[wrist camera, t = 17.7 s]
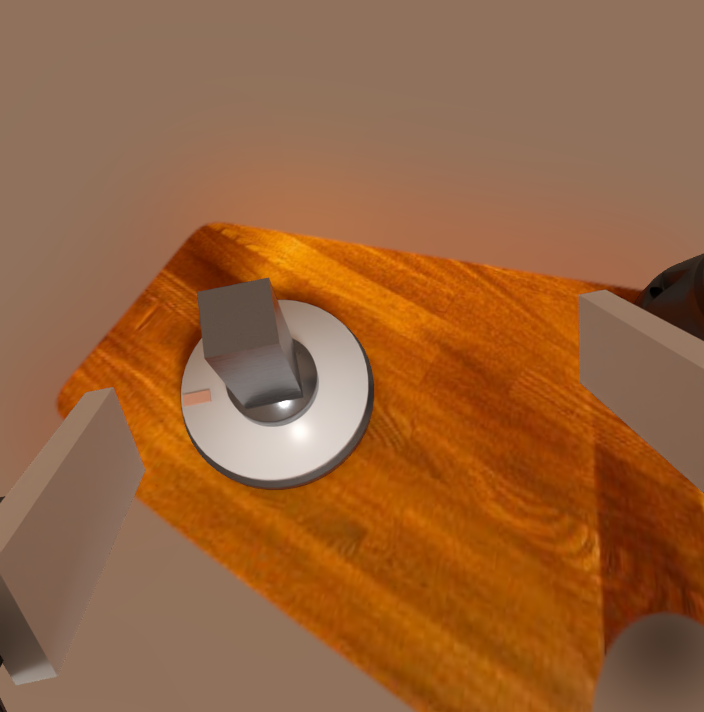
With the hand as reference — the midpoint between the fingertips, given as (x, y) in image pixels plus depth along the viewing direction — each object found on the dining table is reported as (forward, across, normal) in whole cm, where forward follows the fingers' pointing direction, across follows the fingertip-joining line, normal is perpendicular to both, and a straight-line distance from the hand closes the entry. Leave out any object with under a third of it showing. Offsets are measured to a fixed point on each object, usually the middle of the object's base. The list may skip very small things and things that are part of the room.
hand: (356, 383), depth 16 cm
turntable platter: (+33, -6, -15) cm, 37 cm away
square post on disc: (+32, -6, -14) cm, 35 cm away
